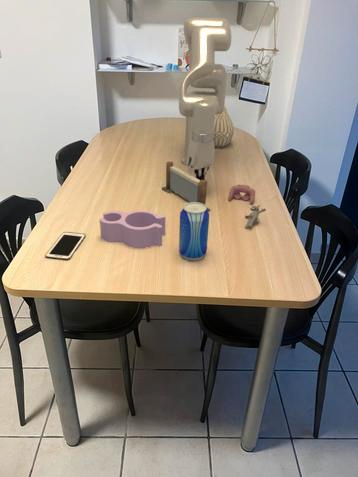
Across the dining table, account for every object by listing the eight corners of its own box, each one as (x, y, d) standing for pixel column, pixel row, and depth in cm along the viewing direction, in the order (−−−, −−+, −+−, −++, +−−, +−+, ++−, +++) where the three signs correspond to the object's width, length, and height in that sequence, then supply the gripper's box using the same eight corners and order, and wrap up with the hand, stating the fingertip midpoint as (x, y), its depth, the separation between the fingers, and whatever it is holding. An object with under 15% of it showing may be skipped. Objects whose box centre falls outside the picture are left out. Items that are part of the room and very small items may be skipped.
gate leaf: (169, 189, 156) (169, 167, 151) (173, 188, 157) (174, 166, 152) (196, 206, 144) (197, 182, 139) (200, 204, 145) (201, 181, 140)
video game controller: (253, 205, 152) (257, 187, 152) (252, 204, 148) (256, 186, 147) (228, 201, 155) (232, 183, 154) (227, 200, 150) (230, 182, 150)
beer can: (177, 246, 123) (178, 200, 114) (204, 246, 124) (207, 200, 115) (180, 262, 116) (181, 214, 107) (208, 261, 116) (212, 213, 108)
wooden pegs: (161, 189, 159) (161, 162, 153) (170, 186, 161) (171, 159, 155) (200, 214, 141) (202, 184, 135) (210, 211, 144) (212, 182, 138)
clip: (97, 244, 123) (95, 225, 119) (108, 225, 134) (107, 207, 130) (160, 250, 121) (160, 231, 117) (166, 230, 132) (166, 212, 128)
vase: (237, 144, 210) (241, 105, 199) (223, 152, 198) (227, 111, 188) (211, 138, 217) (213, 101, 207) (196, 146, 206) (198, 106, 195)
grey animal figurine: (232, 224, 136) (242, 207, 141) (243, 236, 138) (253, 218, 142) (252, 217, 128) (262, 198, 133) (264, 229, 130) (273, 210, 134)
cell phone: (86, 236, 128) (86, 233, 127) (69, 261, 115) (69, 259, 115) (64, 233, 128) (63, 231, 128) (44, 259, 116) (43, 256, 116)
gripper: (212, 131, 147) (209, 176, 157) (179, 137, 139) (178, 185, 149) (225, 136, 142) (221, 183, 151) (192, 143, 134) (189, 192, 144)
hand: (199, 184), depth 150 cm, fingers closed
